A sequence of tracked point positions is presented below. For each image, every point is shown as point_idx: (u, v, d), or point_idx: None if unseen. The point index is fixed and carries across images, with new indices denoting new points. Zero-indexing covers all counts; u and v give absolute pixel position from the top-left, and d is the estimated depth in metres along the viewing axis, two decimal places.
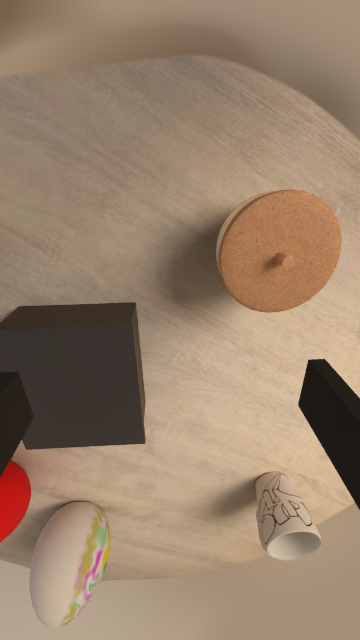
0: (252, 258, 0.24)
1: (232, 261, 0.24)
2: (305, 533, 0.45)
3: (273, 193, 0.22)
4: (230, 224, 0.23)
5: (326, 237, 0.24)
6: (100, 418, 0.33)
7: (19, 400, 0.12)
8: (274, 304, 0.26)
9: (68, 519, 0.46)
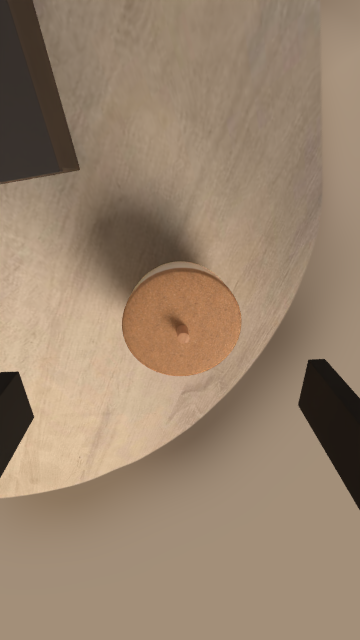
0: (178, 303, 0.24)
1: (172, 285, 0.23)
2: None
3: (238, 306, 0.24)
4: (207, 274, 0.23)
5: (205, 360, 0.26)
6: None
7: (19, 400, 0.12)
8: (133, 337, 0.25)
9: None
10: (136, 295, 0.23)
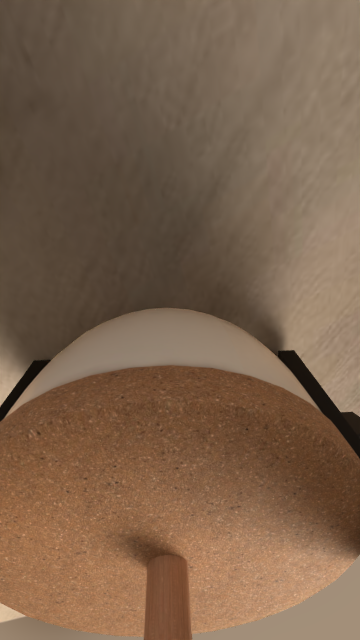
0: (166, 504, 0.06)
1: (148, 447, 0.05)
2: None
3: None
4: (300, 410, 0.06)
5: (224, 618, 0.09)
6: None
7: None
8: None
9: None
10: None
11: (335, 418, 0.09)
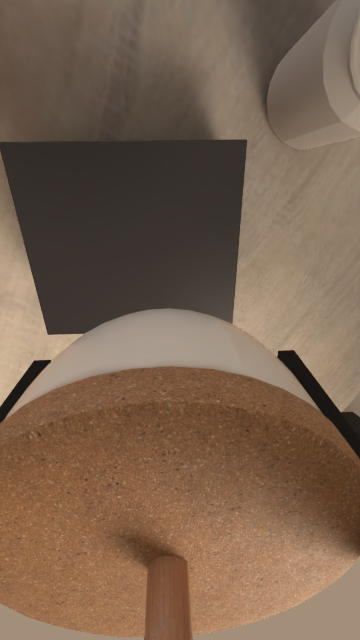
0: (166, 504, 0.06)
1: (149, 449, 0.05)
2: None
3: None
4: (300, 411, 0.06)
5: (224, 619, 0.09)
6: (91, 281, 0.23)
7: None
8: None
9: None
10: None
11: (335, 418, 0.09)
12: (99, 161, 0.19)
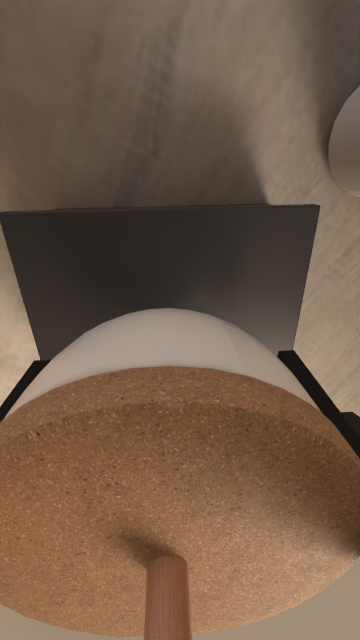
0: (166, 505, 0.06)
1: (148, 449, 0.05)
2: None
3: None
4: (300, 411, 0.06)
5: (224, 619, 0.09)
6: None
7: None
8: None
9: None
10: None
11: (335, 418, 0.09)
12: (128, 233, 0.15)
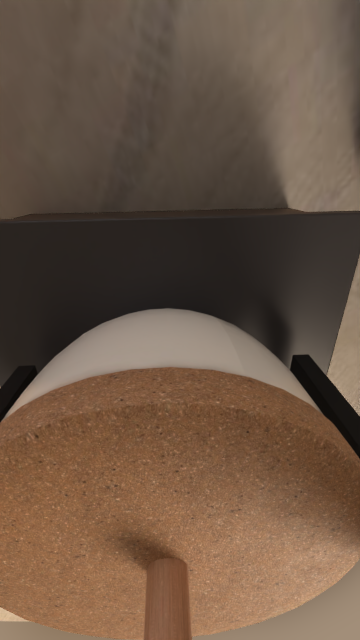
0: (166, 506, 0.06)
1: (148, 450, 0.05)
2: None
3: None
4: (301, 412, 0.05)
5: (224, 621, 0.09)
6: None
7: None
8: None
9: None
10: None
11: (357, 426, 0.09)
12: (115, 250, 0.11)
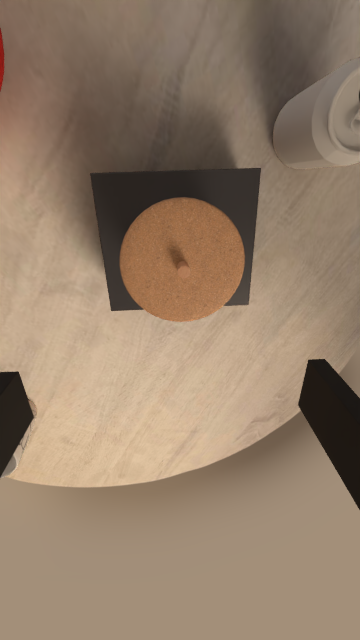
0: (183, 235, 0.22)
1: (179, 213, 0.22)
2: None
3: (243, 248, 0.23)
4: (216, 207, 0.22)
5: (201, 305, 0.25)
6: None
7: (19, 400, 0.12)
8: (130, 269, 0.23)
9: None
10: (139, 220, 0.22)
11: None
12: (158, 184, 0.28)
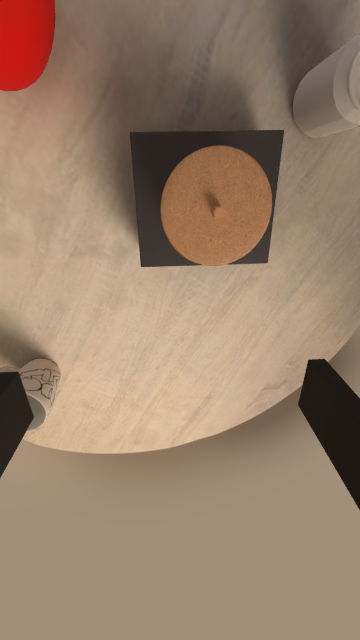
0: (219, 180, 0.25)
1: (216, 159, 0.24)
2: None
3: (271, 195, 0.26)
4: (249, 155, 0.25)
5: (231, 249, 0.28)
6: None
7: (19, 400, 0.12)
8: (170, 212, 0.26)
9: None
10: (181, 165, 0.25)
11: None
12: (191, 144, 0.31)
